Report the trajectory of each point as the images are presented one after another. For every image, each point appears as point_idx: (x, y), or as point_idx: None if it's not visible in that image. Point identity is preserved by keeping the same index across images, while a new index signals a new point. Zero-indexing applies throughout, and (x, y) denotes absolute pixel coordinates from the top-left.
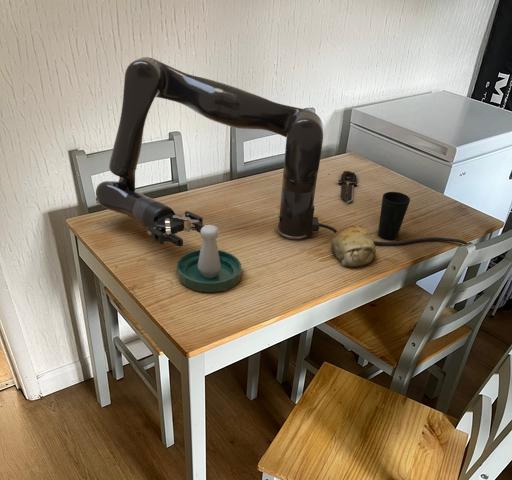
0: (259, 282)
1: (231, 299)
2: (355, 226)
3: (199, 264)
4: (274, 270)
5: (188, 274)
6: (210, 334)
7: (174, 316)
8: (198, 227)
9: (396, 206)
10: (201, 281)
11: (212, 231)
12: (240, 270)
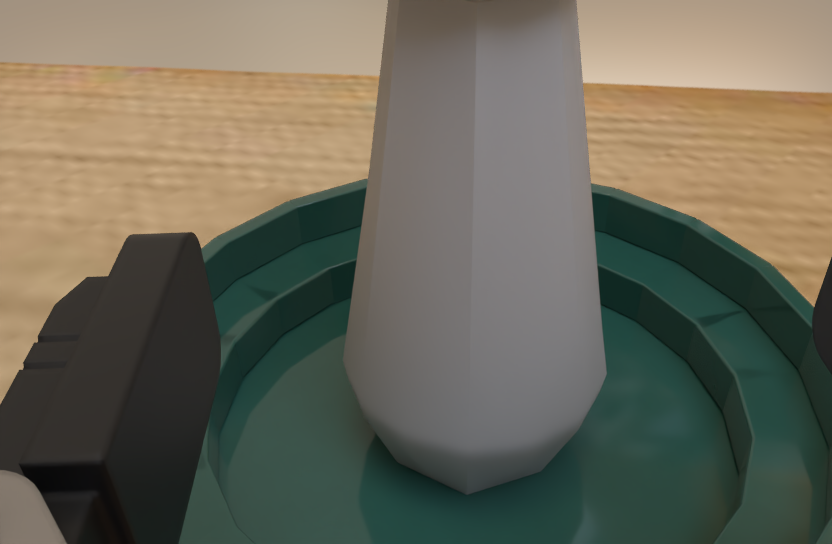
0: (243, 215)
1: None
2: None
3: (602, 332)
4: (30, 240)
5: (680, 537)
6: (816, 113)
7: None
8: (145, 461)
9: None
10: (703, 233)
11: None
12: (311, 195)
